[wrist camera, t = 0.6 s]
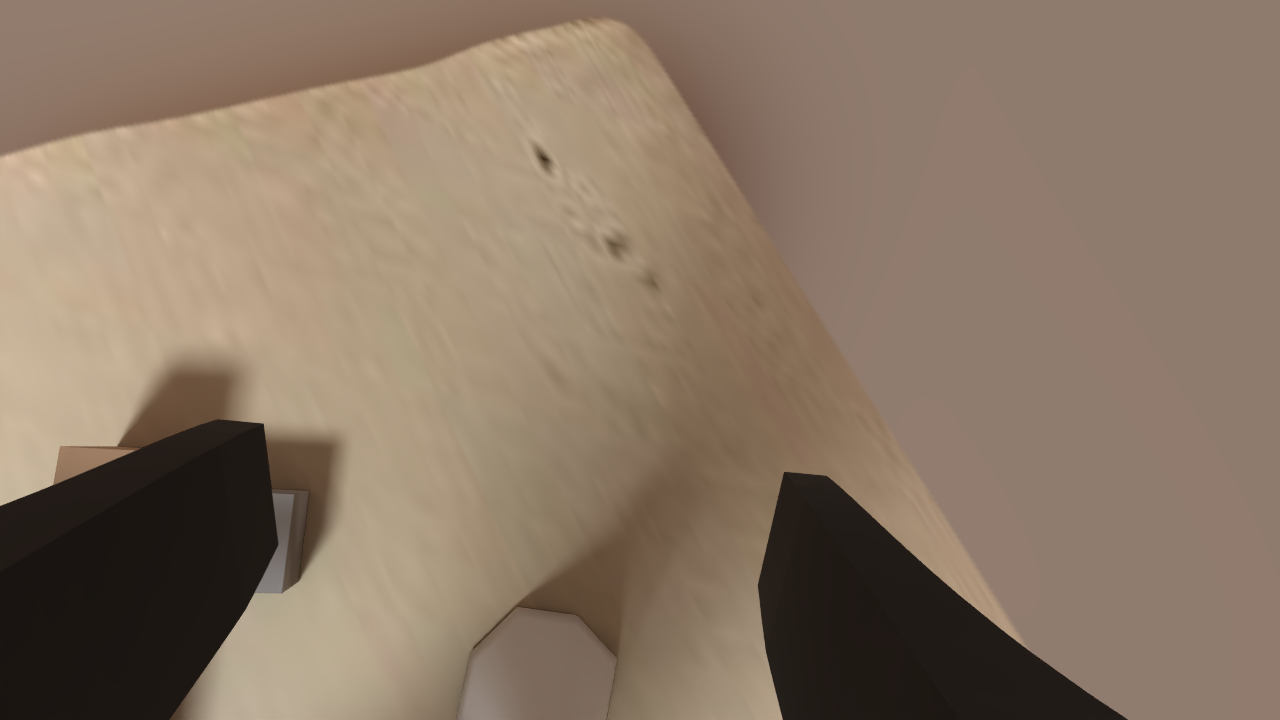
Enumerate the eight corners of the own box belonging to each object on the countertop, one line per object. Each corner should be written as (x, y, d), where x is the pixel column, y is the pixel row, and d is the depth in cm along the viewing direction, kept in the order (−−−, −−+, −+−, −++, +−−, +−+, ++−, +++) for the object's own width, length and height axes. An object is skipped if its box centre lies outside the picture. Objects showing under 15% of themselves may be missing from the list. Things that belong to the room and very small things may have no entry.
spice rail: (254, 940, 29) (216, 1018, 25) (33, 957, 27) (-44, 1042, 23) (313, 457, 31) (288, 458, 28) (116, 446, 30) (60, 446, 26)
